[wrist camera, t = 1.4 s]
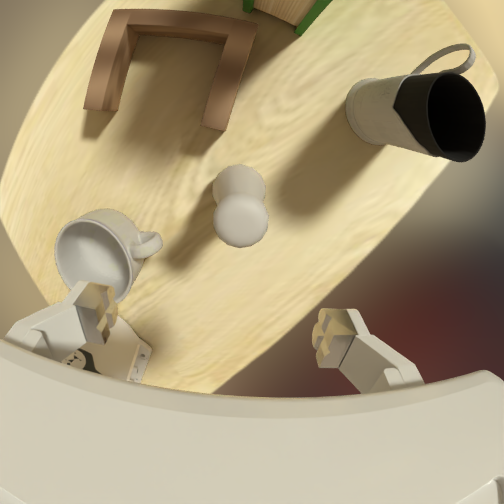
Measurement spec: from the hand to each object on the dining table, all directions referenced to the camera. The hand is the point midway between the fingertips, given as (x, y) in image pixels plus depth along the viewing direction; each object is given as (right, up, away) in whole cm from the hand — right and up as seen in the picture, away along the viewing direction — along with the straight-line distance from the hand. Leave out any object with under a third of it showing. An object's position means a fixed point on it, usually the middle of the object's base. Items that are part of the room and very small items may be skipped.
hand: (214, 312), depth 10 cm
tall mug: (+18, +22, +17) cm, 33 cm away
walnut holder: (-7, +23, +15) cm, 28 cm away
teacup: (-15, +4, +24) cm, 29 cm away
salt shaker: (0, +10, +22) cm, 24 cm away
